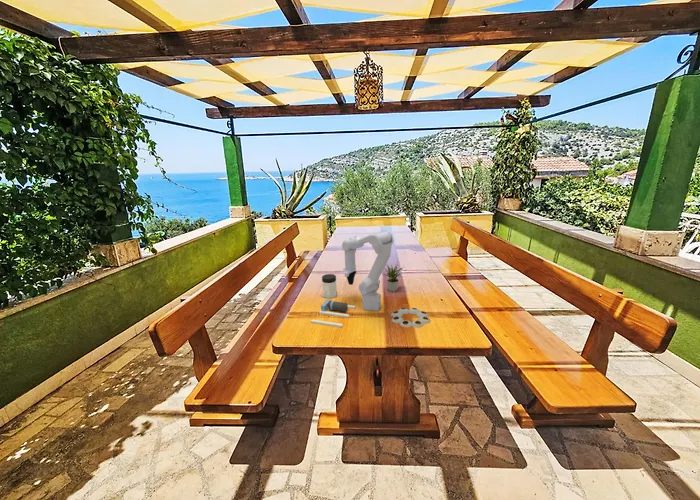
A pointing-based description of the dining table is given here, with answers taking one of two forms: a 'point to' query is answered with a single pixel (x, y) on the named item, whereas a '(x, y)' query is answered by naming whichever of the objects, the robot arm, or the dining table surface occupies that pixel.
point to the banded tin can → (338, 306)
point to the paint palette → (400, 320)
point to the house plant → (393, 281)
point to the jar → (329, 285)
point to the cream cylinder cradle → (324, 311)
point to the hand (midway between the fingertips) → (350, 284)
